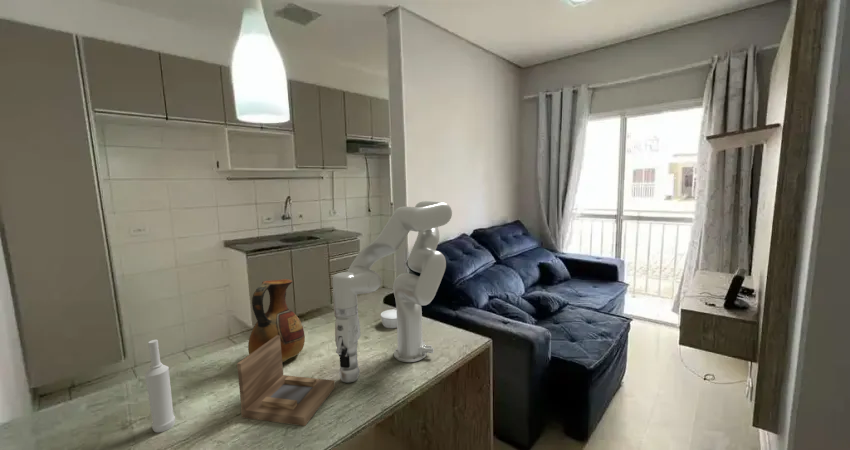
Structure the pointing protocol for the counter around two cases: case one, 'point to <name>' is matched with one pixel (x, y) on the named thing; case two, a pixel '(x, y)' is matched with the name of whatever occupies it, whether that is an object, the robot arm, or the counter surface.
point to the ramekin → (389, 318)
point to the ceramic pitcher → (276, 320)
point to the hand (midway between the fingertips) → (348, 361)
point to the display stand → (278, 388)
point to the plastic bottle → (351, 364)
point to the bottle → (159, 391)
